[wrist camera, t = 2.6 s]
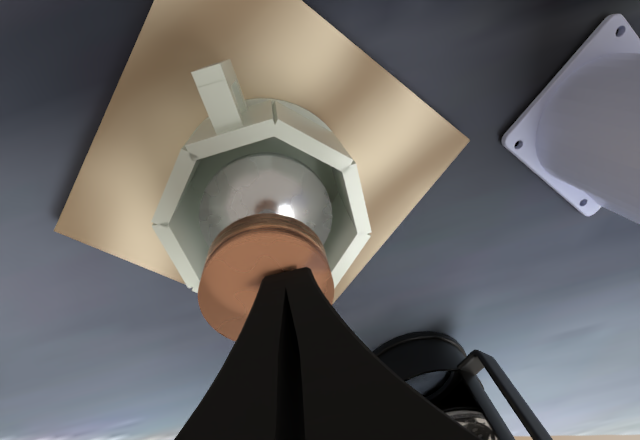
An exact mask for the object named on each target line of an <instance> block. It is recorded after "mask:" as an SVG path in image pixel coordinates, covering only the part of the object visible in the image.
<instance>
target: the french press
mask: <svg viewBox="0 0 640 440" xmlns="http://www.w3.org/2000/svg"><path fill="white" fill-rule="evenodd" d="M373 353H374V354H375V355H376V356H377V357H378V358H379V359H380V360H381V361H382V362H383V363H384V364H386V365H387V366H388V367H389V368H390V369H391V370H392V371H393V372H394V373H396V374H397V375H398V376H399V377H400V378H401V379H403V380H404V381H407V380H409V379H411V378H413V377H416V376H419V375H422V374H425V373H430V372H435V371H452V372H451V374H450V377H449V378H448V380H447V381H446V383H445V384H444V385H443V386H442V387H441V388H440V389H438V390H437V391H436V392H434V393H433V394H431V395H430V396H427V397H425V398H426V399H427V400H429V401H430V402H431V403H432V404H434V405H435V406H436V407H438V408H439V409H440V410H442V411H443V412H444V413H446V414H447V415H449V416H450V417H451V418H453V419H454V420H456V421H457V422H458V423H460V424H461V425H462V426H464V427H465V428H467V429H468V430H470V431H471V432H473V433H474V434H476V435H477V436H479V437H480V438H481V439H483V440H515V439H514V437H513V435H512V434H511V432H510V431H509V429H508V427H507V426H506V424H505V423H504V421H503V419H502V418H501V416H500V415H499V413H498V411H497V410H496V408H495V407H494V405H493V403H492V402H491V400H490V399H489V397H488V396H487V394H486V392H485V391H484V387H483V385H482V383H481V381H480V380H479V378H478V377H477V375H476V374H477V373H478V372H479V371H481V370H482V369H483V368H484V367H485V369H486V370H487V372H488V373H489V375H490V376H491V378H492V379H493V381H494V382H495V384H496V385H497V387H498V388H499V390H500V391H501V393H502V394H503V396H504V397H505V399H506V400H507V401H508V403H509V404H510V406H511V407H512V409H513V410H514V412H515V413H516V415H517V416H518V418H519V419H520V421H521V422H522V424H523V425H524V427H525V428H526V430H527V431H528V433H529V434H530V436H531V437H532V439H533V440H552V438H551V436H550V435H549V434H548V432H547V431H546V429H545V428H544V427H543V425H542V424H541V423H540V421H539V420H538V418H537V417H536V416H535V414H534V413H533V411H532V410H531V409H530V407H529V406H528V405H527V403H526V402H525V400H524V399H523V398H522V396H521V395H520V393H519V392H518V391H517V389H516V388H515V387H514V385H513V384H512V382H511V381H510V380H509V378H508V377H507V375H506V374H505V373H504V371H503V370H502V369H501V367H500V366H499V364H498V363H497V362H496V360H495V359H494V358H493V357H492V356H490V355H488V354H485V353H483V352H481V351H479V350H473V351H472V352H471V353H470V354H469V355H468V356H466V353H465V351H464V349H463V348H462V346H461V345H460V344H459V343H458V342H457V341H456V340H454V339H453V338H451V337H449V336H447V335H444V334H441V333H435V332H417V333H412V334H407V335H404V336H401V337H398V338H395V339H393V340H391V341H389V342H387V343H385V344H384V345H382V346H381V347H379V348H378V349H376V350H375V351H374V352H373Z"/></svg>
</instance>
